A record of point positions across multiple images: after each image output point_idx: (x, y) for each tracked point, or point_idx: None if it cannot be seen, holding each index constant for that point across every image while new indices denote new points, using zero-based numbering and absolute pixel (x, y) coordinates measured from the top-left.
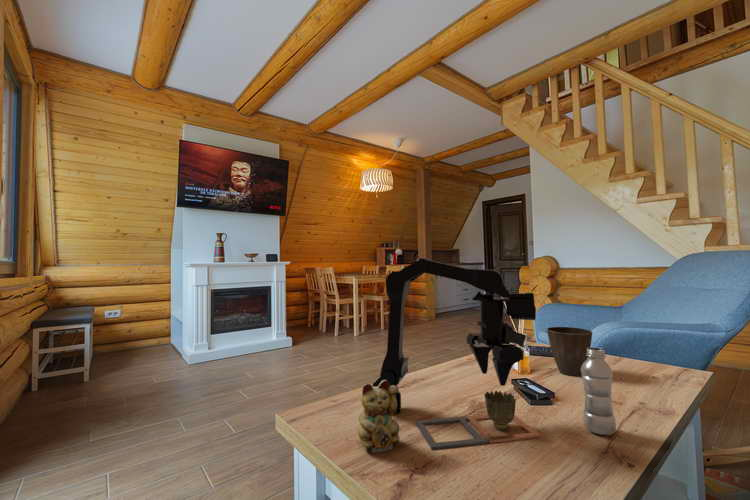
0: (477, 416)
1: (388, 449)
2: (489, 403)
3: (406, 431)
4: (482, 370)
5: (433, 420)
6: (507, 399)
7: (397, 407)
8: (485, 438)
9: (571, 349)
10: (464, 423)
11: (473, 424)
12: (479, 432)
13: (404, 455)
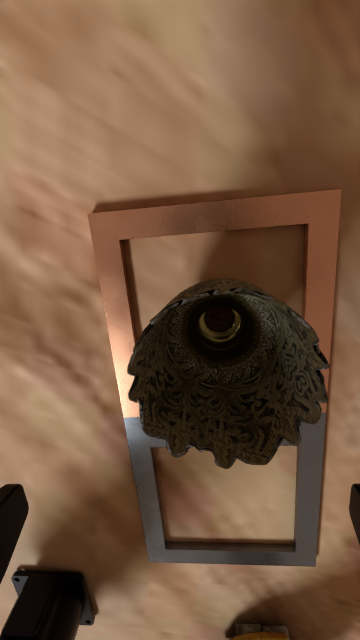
0: (129, 377)
1: (288, 634)
2: (251, 443)
3: (198, 582)
4: (13, 544)
5: (150, 519)
6: (179, 302)
7: (62, 589)
8: None
9: None
10: None
11: None
12: None
13: (321, 611)
